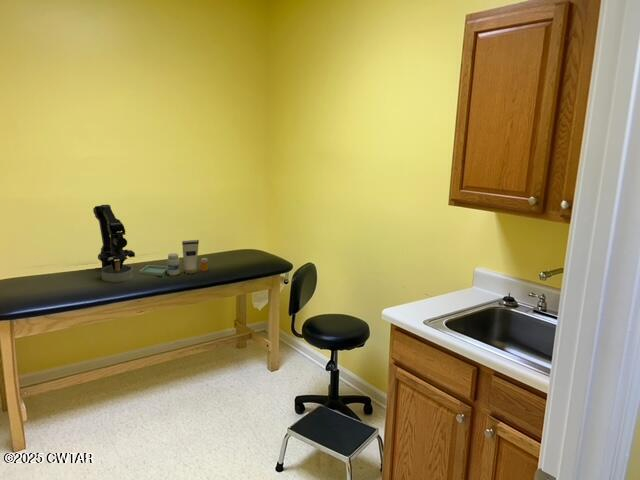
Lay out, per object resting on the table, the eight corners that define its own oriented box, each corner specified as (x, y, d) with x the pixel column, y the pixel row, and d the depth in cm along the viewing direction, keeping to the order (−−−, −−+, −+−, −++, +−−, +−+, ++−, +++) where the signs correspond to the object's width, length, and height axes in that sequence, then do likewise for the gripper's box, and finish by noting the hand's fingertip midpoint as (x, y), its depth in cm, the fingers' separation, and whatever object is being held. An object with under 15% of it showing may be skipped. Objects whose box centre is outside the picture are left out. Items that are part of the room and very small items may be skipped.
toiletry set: (168, 276, 268) (168, 243, 263) (165, 272, 275) (165, 240, 269) (209, 272, 281) (209, 240, 276) (206, 268, 287) (206, 237, 282)
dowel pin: (113, 274, 258) (113, 261, 256) (116, 273, 261) (115, 260, 259) (118, 275, 258) (118, 261, 256) (121, 273, 261) (120, 260, 259)
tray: (139, 274, 267) (139, 270, 267) (148, 268, 279) (147, 264, 278) (162, 276, 267) (162, 273, 266) (170, 270, 278) (170, 266, 277)
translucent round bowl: (95, 281, 252) (95, 272, 251) (111, 272, 268) (110, 263, 267) (124, 284, 251) (124, 274, 250) (138, 274, 268) (137, 265, 266)
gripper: (102, 249, 243) (104, 276, 247) (137, 245, 255) (138, 271, 259) (96, 244, 251) (98, 270, 255) (131, 240, 263) (132, 265, 267)
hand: (117, 269), depth 259 cm, fingers closed on dowel pin, 3 cm apart
